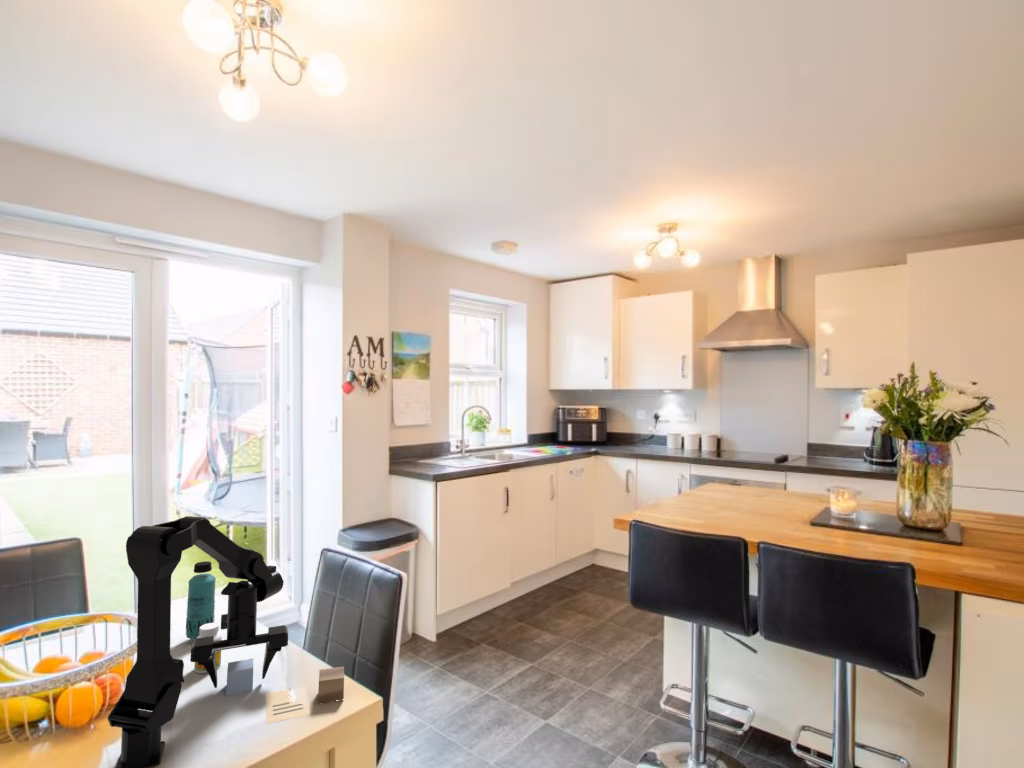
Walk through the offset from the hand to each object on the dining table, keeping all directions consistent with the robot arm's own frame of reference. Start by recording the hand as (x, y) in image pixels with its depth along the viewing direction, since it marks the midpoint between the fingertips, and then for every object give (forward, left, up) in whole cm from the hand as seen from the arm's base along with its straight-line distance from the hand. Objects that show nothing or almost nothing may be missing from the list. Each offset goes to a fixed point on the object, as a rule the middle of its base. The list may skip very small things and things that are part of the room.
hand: (239, 682), depth 117 cm
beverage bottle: (+31, +10, -2) cm, 33 cm away
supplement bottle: (+13, +7, -2) cm, 15 cm away
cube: (0, 0, -1) cm, 1 cm away
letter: (-11, -9, -1) cm, 14 cm away
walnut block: (-12, -18, -1) cm, 21 cm away
